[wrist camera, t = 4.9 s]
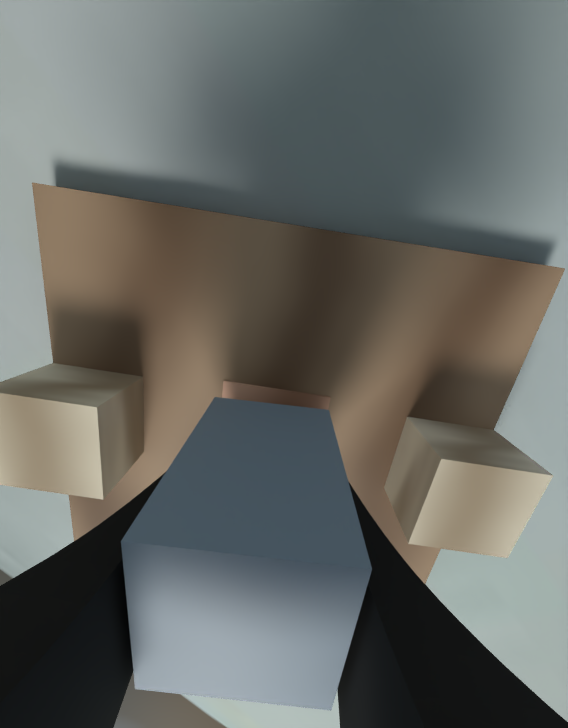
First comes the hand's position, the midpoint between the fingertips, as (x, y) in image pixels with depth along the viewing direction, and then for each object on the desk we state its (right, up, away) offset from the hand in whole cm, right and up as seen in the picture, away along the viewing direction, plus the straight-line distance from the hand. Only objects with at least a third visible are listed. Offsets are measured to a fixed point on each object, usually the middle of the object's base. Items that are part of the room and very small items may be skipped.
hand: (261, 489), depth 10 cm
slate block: (0, +1, +2) cm, 2 cm away
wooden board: (0, +1, +4) cm, 4 cm away
